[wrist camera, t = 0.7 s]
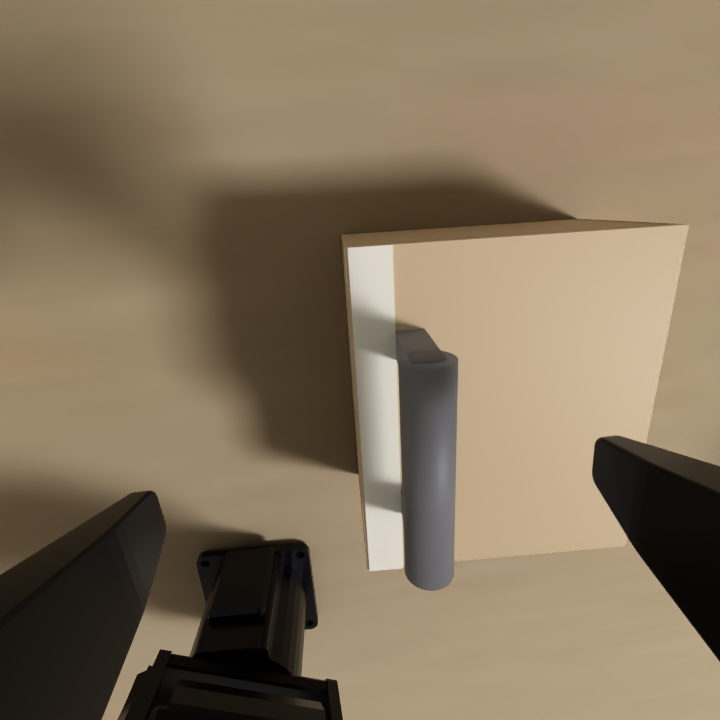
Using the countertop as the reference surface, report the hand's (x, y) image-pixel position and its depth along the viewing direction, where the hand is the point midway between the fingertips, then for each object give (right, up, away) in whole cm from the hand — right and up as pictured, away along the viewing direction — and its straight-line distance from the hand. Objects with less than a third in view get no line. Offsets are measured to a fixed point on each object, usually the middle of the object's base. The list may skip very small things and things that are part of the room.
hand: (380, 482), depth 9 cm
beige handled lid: (+5, 0, +7) cm, 9 cm away
